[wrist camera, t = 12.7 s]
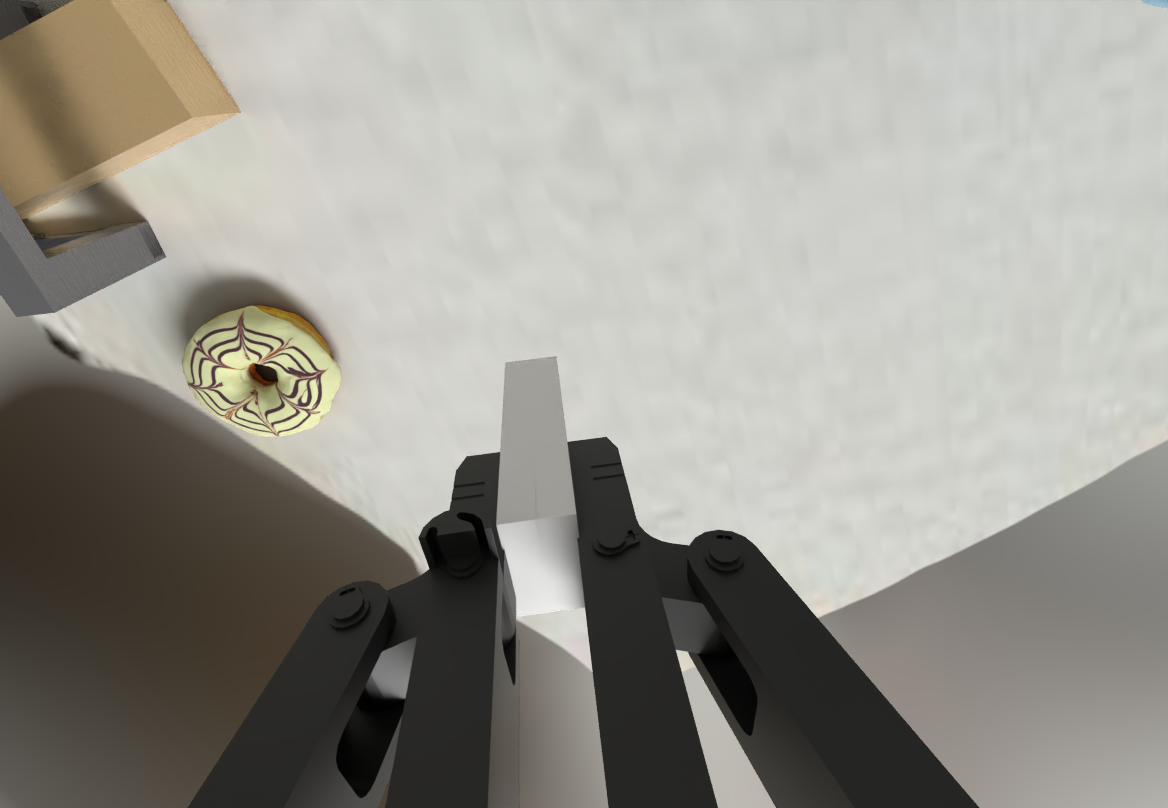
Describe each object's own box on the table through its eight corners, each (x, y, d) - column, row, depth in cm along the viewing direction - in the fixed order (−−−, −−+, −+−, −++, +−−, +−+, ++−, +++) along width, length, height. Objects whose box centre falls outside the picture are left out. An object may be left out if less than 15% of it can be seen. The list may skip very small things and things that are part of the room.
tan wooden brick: (170, 2, 30) (97, -15, 25) (242, 112, 33) (191, 117, 28) (-99, 144, 32) (-217, 156, 27) (-7, 235, 36) (-97, 261, 30)
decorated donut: (370, 356, 43) (358, 378, 40) (301, 437, 46) (285, 463, 43) (245, 272, 38) (221, 289, 35) (178, 368, 42) (150, 392, 39)
